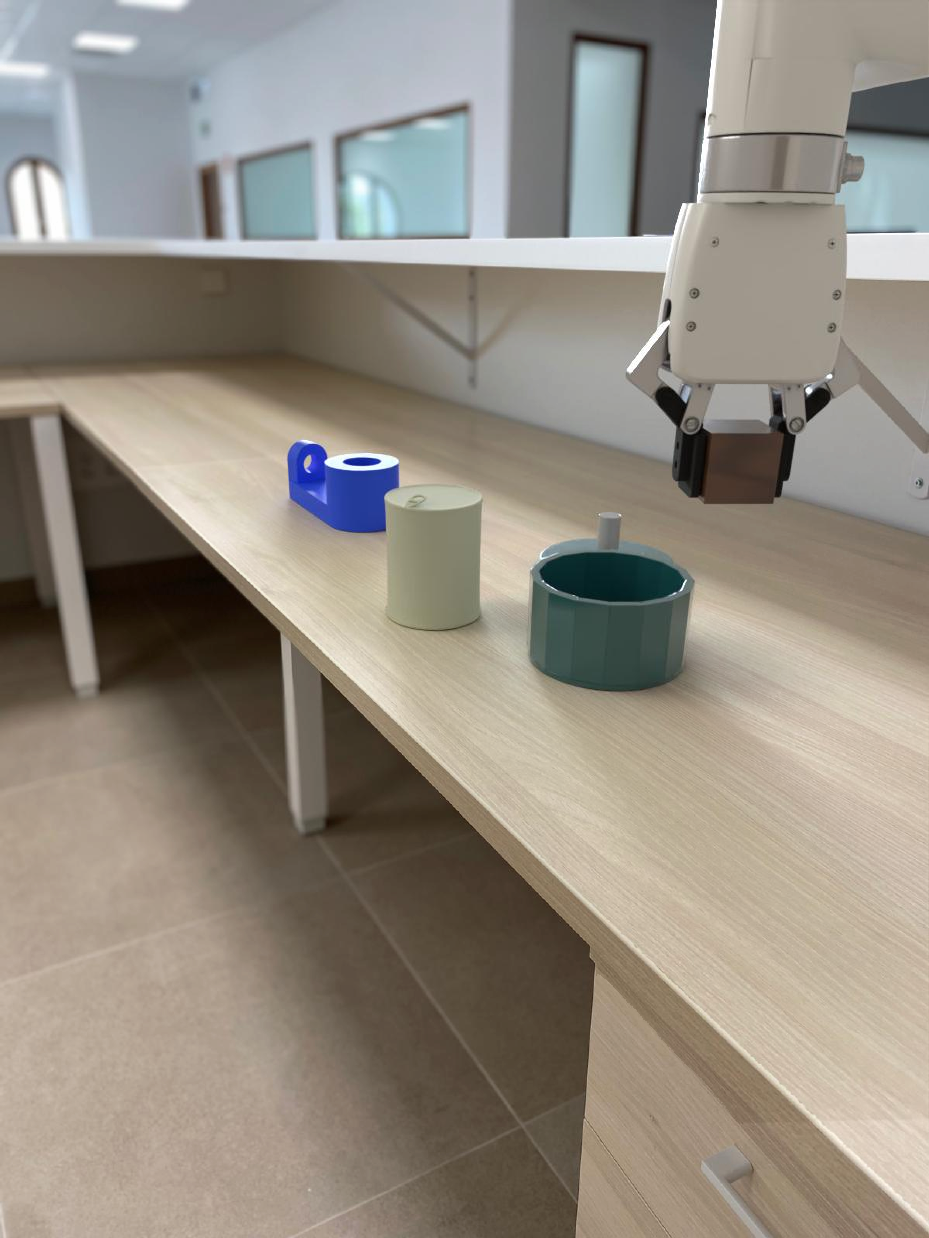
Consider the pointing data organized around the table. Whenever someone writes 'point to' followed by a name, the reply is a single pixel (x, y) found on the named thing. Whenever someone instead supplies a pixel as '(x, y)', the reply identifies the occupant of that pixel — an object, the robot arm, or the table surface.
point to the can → (433, 555)
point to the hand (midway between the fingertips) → (728, 489)
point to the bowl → (609, 619)
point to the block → (740, 462)
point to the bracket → (342, 486)
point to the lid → (605, 540)
